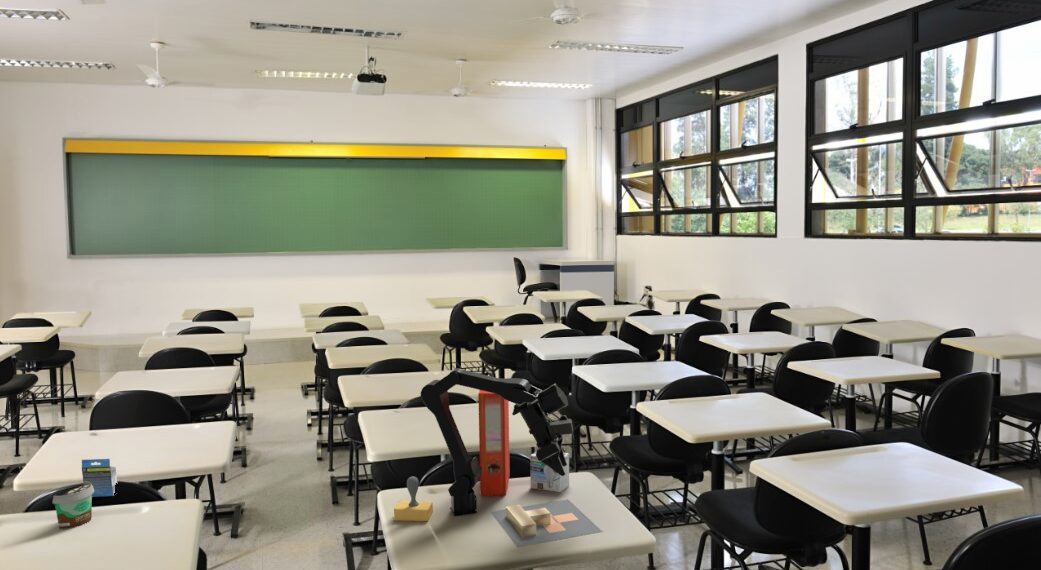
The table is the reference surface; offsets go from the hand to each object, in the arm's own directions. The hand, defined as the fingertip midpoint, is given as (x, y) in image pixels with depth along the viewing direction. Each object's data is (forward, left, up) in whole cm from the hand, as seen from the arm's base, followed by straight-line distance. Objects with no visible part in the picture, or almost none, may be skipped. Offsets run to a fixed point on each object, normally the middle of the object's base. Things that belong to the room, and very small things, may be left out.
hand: (564, 470), depth 209 cm
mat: (-6, 0, -14) cm, 15 cm away
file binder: (-10, +32, -14) cm, 36 cm away
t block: (-10, 0, -14) cm, 17 cm away
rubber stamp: (-39, +18, -15) cm, 46 cm away
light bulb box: (+5, +24, -15) cm, 29 cm away
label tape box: (-128, +73, -14) cm, 148 cm away
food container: (-129, +51, -14) cm, 140 cm away
